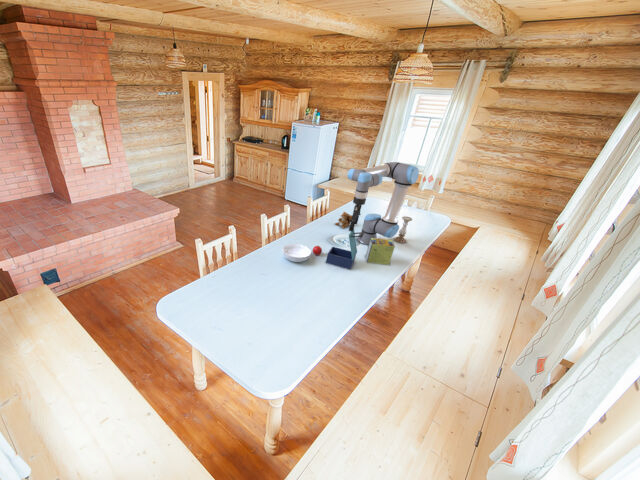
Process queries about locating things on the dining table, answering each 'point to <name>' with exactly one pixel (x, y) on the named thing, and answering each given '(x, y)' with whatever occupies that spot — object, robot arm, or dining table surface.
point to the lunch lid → (354, 242)
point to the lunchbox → (340, 258)
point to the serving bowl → (296, 252)
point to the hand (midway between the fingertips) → (352, 227)
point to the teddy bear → (344, 220)
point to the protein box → (380, 251)
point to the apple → (317, 250)
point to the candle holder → (403, 230)
